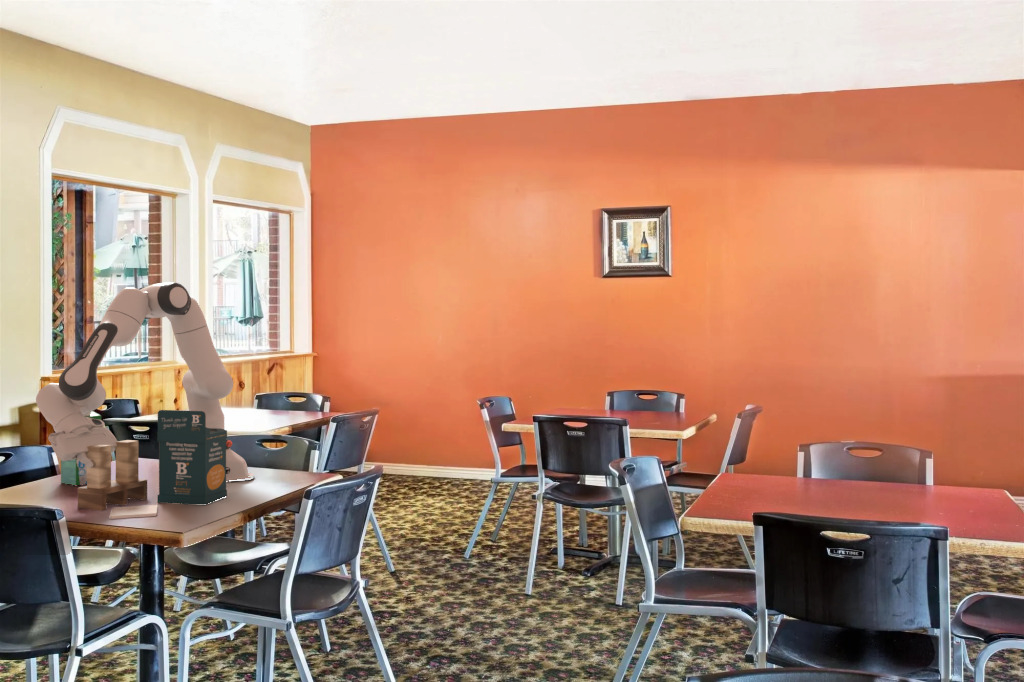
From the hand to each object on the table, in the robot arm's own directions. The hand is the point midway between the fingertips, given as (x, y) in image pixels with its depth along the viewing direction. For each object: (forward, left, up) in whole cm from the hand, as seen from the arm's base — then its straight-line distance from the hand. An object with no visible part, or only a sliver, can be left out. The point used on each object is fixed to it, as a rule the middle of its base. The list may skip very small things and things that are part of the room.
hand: (100, 465), depth 258 cm
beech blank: (-7, -9, -6) cm, 13 cm away
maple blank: (0, 0, -6) cm, 6 cm away
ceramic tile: (-10, +12, -12) cm, 19 cm away
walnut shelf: (-3, -5, -12) cm, 14 cm away
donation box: (-27, -4, -13) cm, 30 cm away
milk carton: (+9, -45, -13) cm, 48 cm away
